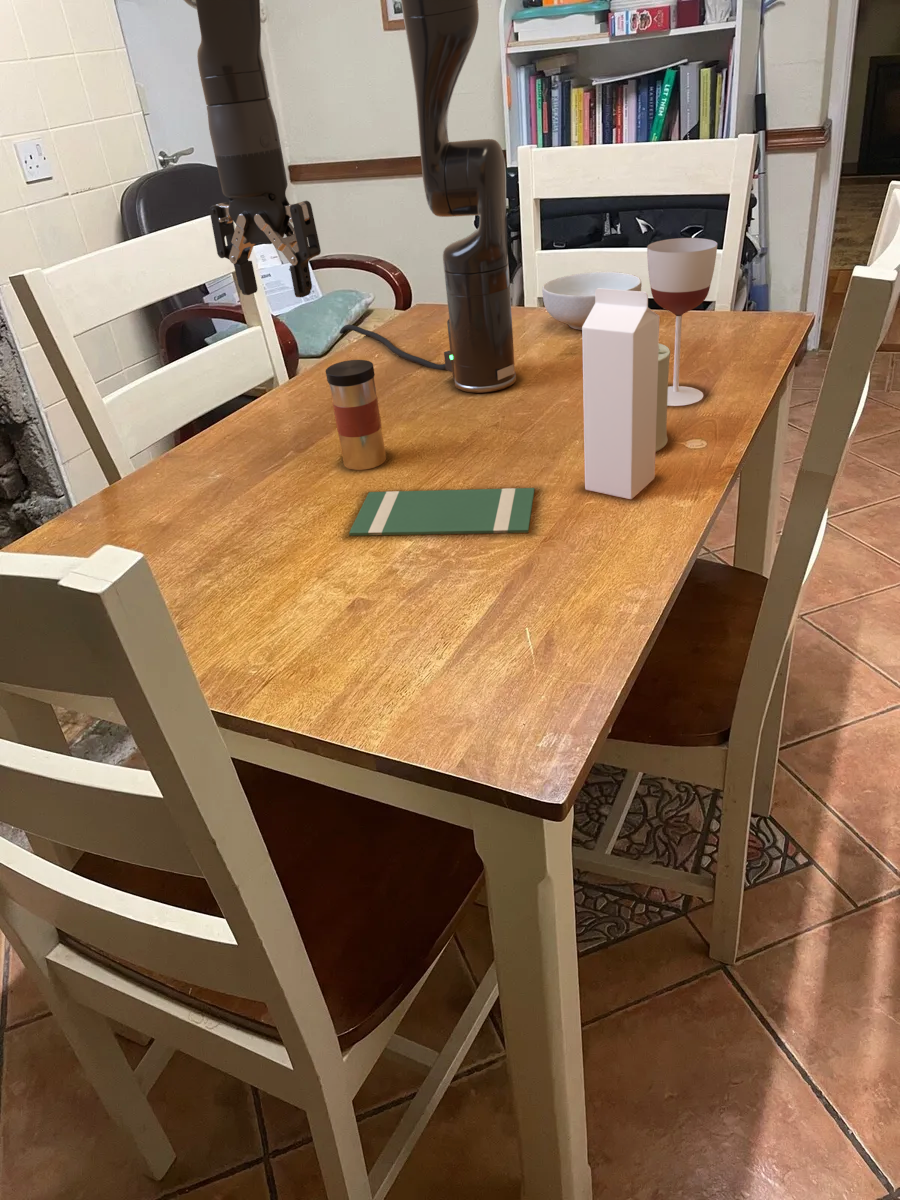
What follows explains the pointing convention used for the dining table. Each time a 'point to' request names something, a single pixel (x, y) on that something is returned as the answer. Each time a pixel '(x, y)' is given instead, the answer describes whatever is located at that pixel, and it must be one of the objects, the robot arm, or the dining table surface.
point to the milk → (620, 392)
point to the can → (662, 396)
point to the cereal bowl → (582, 294)
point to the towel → (445, 512)
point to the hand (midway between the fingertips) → (276, 294)
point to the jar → (357, 413)
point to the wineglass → (681, 292)
